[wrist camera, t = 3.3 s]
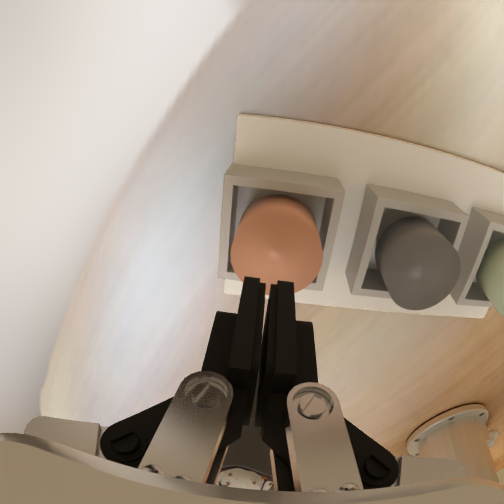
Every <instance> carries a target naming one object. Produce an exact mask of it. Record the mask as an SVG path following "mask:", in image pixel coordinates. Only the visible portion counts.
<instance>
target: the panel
mask: <svg viewBox="0 0 504 504" xmlns="http://www.w3.org/2000/svg"><path fill="white" fill-rule="evenodd" d="M272 194H282V195H288V196H291V197H294V198H296V199H298V200H300V201H301V202H303V203H304V204H305V205H306V206H307V207H308V208H309V209H310V210H311V212H312V213H313V215H314V217H315V220H316V223H317V227H318V232H319V236H320V241H321V246H322V251H323V261H322V266H321V269H320V271H319V273H318V275H317V276H316V278H315V279H314V280H313V282H312V283H311V284H309V285H308V286H307V287H306V288H304V289H302V290H301V291H299V292H296V293H294V294H295V303H304V304H313V305H322V306H331V307H341V308H351V309H361V310H372V311H383V312H395V313H407V314H420V315H434V316H450V317H467V318H484V317H485V315H486V313H487V311H488V309H489V307H494V306H493V304H492V303H491V302H490V300H489V299H488V298H487V296H486V295H485V294H484V292H483V291H482V290H481V288H480V287H479V285H478V284H477V281H476V273H477V270H478V268H479V266H480V263H481V261H482V258H483V256H484V253H485V251H486V249H487V248H488V247H489V246H490V245H491V244H492V243H493V242H494V241H496V240H498V239H500V238H503V237H504V172H502V171H499V170H497V169H494V168H491V167H488V166H486V165H483V164H480V163H477V162H474V161H471V160H468V159H465V158H462V157H459V156H456V155H453V154H449V153H446V152H443V151H439V150H436V149H433V148H429V147H425V146H422V145H418V144H414V143H411V142H407V141H403V140H399V139H395V138H390V137H386V136H382V135H377V134H373V133H368V132H364V131H359V130H354V129H349V128H343V127H338V126H332V125H326V124H321V123H314V122H308V121H301V120H294V119H287V118H279V117H270V116H261V115H252V114H239V115H238V116H237V127H236V138H235V150H234V162H233V164H231V166H230V167H229V169H228V170H227V171H226V173H225V174H224V184H223V198H222V214H221V231H220V249H219V268H218V278H221V279H225V289H224V293H225V294H233V295H240V296H241V292H242V287H243V282H242V281H241V280H240V279H239V278H238V276H237V275H236V273H235V271H234V269H233V267H232V263H231V247H232V243H233V240H234V237H235V234H236V231H237V228H238V225H239V222H240V219H241V216H242V214H243V212H244V211H245V209H246V208H247V207H248V206H249V205H250V204H251V203H252V202H254V201H255V200H257V199H259V198H261V197H264V196H267V195H272ZM410 216H417V217H422V218H424V219H427V220H428V221H430V222H431V223H432V224H433V225H434V226H435V227H436V228H437V229H438V230H439V231H440V232H441V233H442V235H443V236H444V237H445V238H446V239H447V240H448V241H449V242H450V243H451V245H452V246H453V247H454V248H455V249H456V251H457V252H458V254H459V257H460V262H461V270H460V275H459V279H458V281H457V283H456V285H455V287H454V288H453V290H452V291H451V293H450V294H449V295H448V296H447V297H446V298H445V299H444V300H442V301H441V302H440V303H438V304H436V305H435V306H432V307H430V308H427V309H423V310H407V309H404V308H402V307H400V306H398V305H397V304H396V303H395V302H394V301H393V300H392V298H391V296H390V294H389V292H388V289H387V287H386V285H385V283H384V280H383V278H382V276H381V274H380V271H379V269H378V267H377V264H376V261H375V249H376V245H377V242H378V240H379V238H380V236H381V234H382V233H383V232H384V230H385V229H386V228H387V227H388V226H389V225H391V224H392V223H394V222H395V221H397V220H399V219H401V218H405V217H410ZM265 299H269V295H265Z"/></svg>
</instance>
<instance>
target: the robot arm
mask: <svg viewBox="0 0 504 504" xmlns="http://www.w3.org/2000/svg"><path fill="white" fill-rule="evenodd" d="M265 291H266V283H261V282H260V278H255V277H247V276H244V281H243V287H242V292H241V298H240V303H239V309H238V314H235V313H227V312H220V311H217V312H216V316H215V319H214V323H213V327H212V331H211V335H210V339H209V343H208V347H207V351H206V354H205V358H204V362H203V366H202V370H201V371H199V372H195V373H192V374H190V375H189V376H187V377H186V378H184V380H183V381H182V382H181V384H180V386H179V388H178V390H177V392H176V394H175V396H174V397H172V398H170V399H168V400H166V401H164V402H161V403H159V404H157V405H155V406H153V407H151V408H149V409H146V410H144V411H142V412H140V413H138V414H135V415H133V416H131V417H129V418H126V419H124V420H122V421H119V422H117V423H115V424H113V425H111V426H110V427H102V426H100V425H99V423H89V422H80V421H72V420H65V419H58V418H52V417H46V416H40V417H36V418H34V419H32V420H31V421H30V422H29V423H28V424H27V426H26V429H25V431H24V434H19V433H0V504H504V486H503V485H501V484H500V483H499V480H498V477H497V473H496V470H495V466H494V463H493V460H492V456H491V453H490V450H489V447H492V446H494V444H495V442H496V438H495V437H498V435H499V430H498V429H492V430H490V431H488V429H487V426H486V422H487V421H488V417H489V413H488V411H487V409H486V407H485V406H483V405H480V404H470V405H465V406H461V407H458V408H455V409H452V410H450V411H447V412H445V413H443V414H441V415H439V416H437V417H435V418H433V419H431V420H430V421H428V422H426V423H425V424H424V425H422V426H421V427H419V428H418V429H417V430H416V431H415V432H414V433H413V434H412V435H411V436H410V437H409V439H408V440H407V443H406V447H407V451H408V453H409V454H410V455H412V456H409V455H402V456H401V457H394V456H393V455H392V454H391V453H390V452H389V451H388V450H386V449H385V448H384V447H382V446H381V445H379V444H378V443H377V442H375V441H374V440H373V439H371V438H370V437H369V436H367V435H366V434H365V433H363V432H362V431H361V430H360V429H358V428H357V427H356V426H354V425H353V424H352V423H350V422H349V421H348V420H347V419H345V418H344V417H343V414H342V410H341V407H340V404H339V400H338V398H337V396H336V394H335V393H334V392H333V391H332V390H331V389H330V388H328V387H326V386H325V385H322V384H319V383H318V376H317V364H316V353H315V342H314V332H313V324H312V322H305V321H296V316H295V294H294V282H289V281H280V280H278V281H277V284H271V286H270V293H269V299H268V305H267V312H266V318H265V324H264V330H263V336H262V329H263V317H264V304H265ZM261 342H262V343H261ZM258 373H259V376H258ZM257 379H258V388H257V399H256V410H255V421H254V427H260V436H262V441H263V442H264V443H265V444H266V445H267V446H268V447H269V448H270V458H271V466H272V475H273V483H274V491H268V490H255V489H244V488H235V487H227V486H219V485H216V482H217V479H218V476H219V473H220V471H221V468H222V465H223V462H224V459H225V456H226V453H227V450H228V445H230V444H232V443H233V442H235V441H236V440H238V439H240V438H241V433H242V426H249V422H250V417H251V412H252V406H253V401H254V396H255V390H256V385H257Z"/></svg>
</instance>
